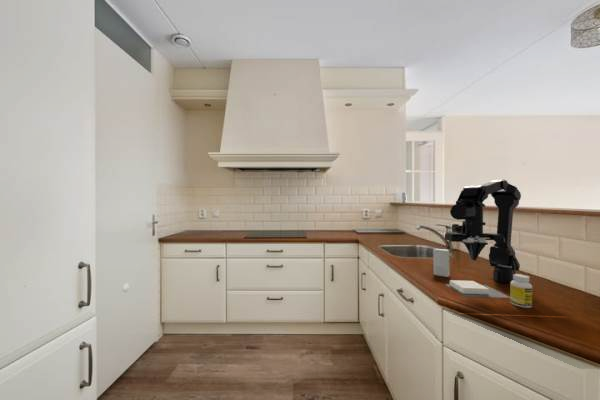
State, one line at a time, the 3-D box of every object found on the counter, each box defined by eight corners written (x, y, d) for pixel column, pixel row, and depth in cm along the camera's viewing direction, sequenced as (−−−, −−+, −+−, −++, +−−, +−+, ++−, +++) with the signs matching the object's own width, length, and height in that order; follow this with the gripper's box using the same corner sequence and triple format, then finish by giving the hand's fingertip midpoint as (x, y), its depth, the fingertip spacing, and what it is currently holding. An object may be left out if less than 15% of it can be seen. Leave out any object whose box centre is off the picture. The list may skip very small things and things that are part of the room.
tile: (473, 280, 99) (449, 280, 100) (488, 288, 90) (462, 288, 91) (473, 286, 99) (449, 285, 100) (488, 295, 90) (462, 294, 91)
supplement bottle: (527, 310, 79) (527, 279, 79) (506, 303, 84) (507, 274, 84) (535, 306, 81) (535, 276, 81) (514, 300, 86) (514, 272, 86)
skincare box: (449, 275, 115) (449, 249, 115) (448, 278, 111) (448, 250, 111) (434, 273, 119) (434, 247, 119) (432, 275, 115) (432, 249, 115)
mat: (486, 286, 101) (486, 285, 101) (511, 298, 88) (511, 297, 88) (445, 285, 102) (445, 284, 102) (463, 297, 89) (463, 296, 89)
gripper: (485, 217, 102) (485, 256, 102) (438, 217, 103) (437, 255, 103) (505, 220, 91) (505, 262, 91) (452, 219, 92) (452, 261, 92)
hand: (473, 260), depth 95 cm, fingers closed
